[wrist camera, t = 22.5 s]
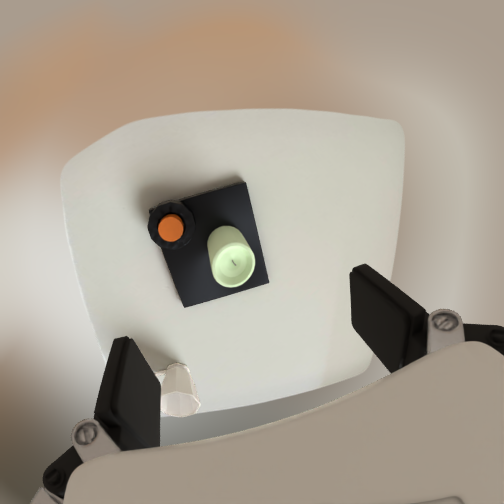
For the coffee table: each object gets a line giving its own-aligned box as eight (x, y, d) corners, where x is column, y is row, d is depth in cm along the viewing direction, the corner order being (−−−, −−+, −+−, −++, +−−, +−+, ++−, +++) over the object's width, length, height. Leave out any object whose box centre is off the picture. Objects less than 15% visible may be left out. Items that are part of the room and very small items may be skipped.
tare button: (156, 218, 33) (154, 221, 31) (179, 210, 33) (178, 214, 32) (164, 240, 34) (162, 244, 33) (186, 233, 34) (186, 237, 33)
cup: (198, 383, 47) (202, 417, 40) (145, 384, 45) (142, 417, 37) (196, 356, 45) (199, 391, 37) (139, 356, 42) (133, 390, 35)
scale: (145, 206, 35) (141, 211, 32) (243, 177, 36) (247, 180, 33) (181, 304, 41) (181, 315, 38) (267, 279, 42) (272, 288, 39)
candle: (230, 217, 36) (241, 236, 29) (251, 246, 38) (266, 271, 31) (199, 240, 37) (202, 264, 29) (221, 267, 39) (229, 296, 31)
